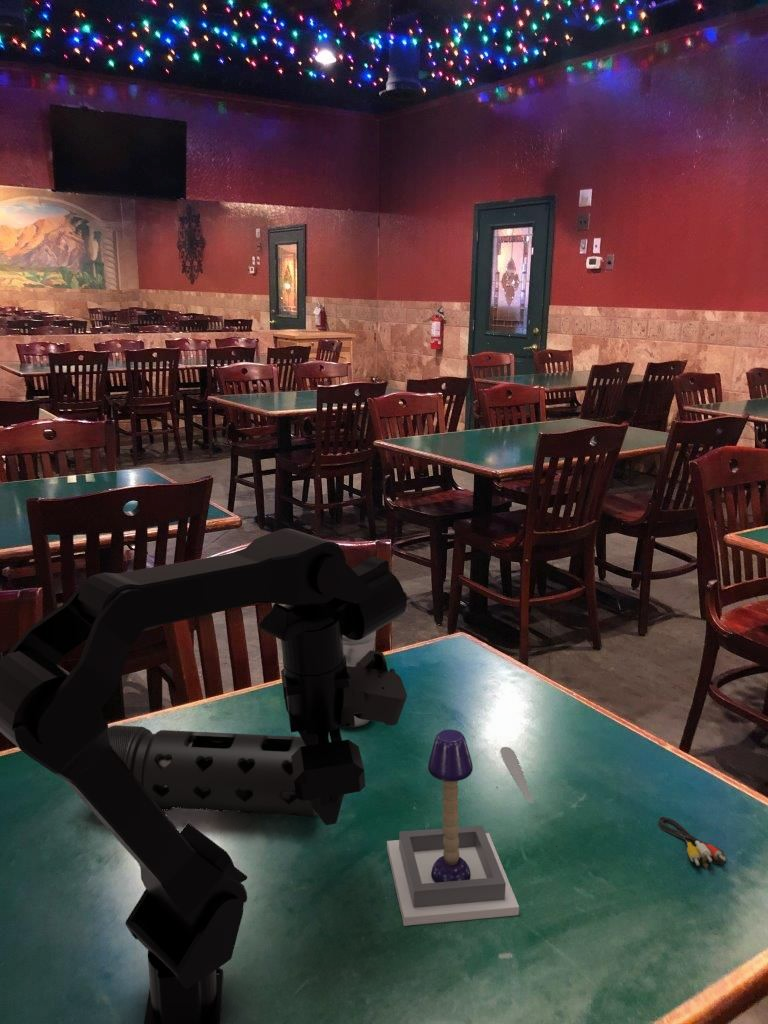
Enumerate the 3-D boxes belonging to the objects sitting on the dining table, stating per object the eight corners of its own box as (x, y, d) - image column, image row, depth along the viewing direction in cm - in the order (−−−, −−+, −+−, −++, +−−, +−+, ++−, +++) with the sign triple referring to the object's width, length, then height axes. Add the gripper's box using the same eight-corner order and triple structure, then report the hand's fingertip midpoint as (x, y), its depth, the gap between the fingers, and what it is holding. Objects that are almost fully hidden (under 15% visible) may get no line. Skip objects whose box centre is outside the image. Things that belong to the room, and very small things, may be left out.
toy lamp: (422, 884, 88) (424, 743, 84) (430, 856, 92) (433, 721, 88) (467, 892, 87) (472, 750, 83) (473, 863, 91) (478, 727, 87)
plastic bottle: (323, 716, 124) (322, 591, 119) (364, 707, 127) (365, 584, 121) (339, 736, 118) (339, 606, 113) (382, 727, 121) (384, 599, 116)
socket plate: (518, 915, 85) (520, 890, 84) (403, 925, 84) (404, 900, 83) (488, 840, 97) (489, 818, 96) (386, 848, 95) (387, 825, 94)
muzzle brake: (313, 841, 96) (312, 763, 94) (79, 828, 98) (71, 751, 95) (324, 793, 105) (324, 720, 103) (110, 782, 107) (104, 710, 104)
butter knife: (518, 745, 116) (498, 745, 116) (581, 880, 91) (555, 880, 90) (518, 749, 117) (497, 749, 116) (581, 884, 91) (555, 884, 90)
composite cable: (652, 823, 101) (654, 805, 100) (688, 819, 102) (690, 802, 101) (696, 878, 91) (698, 859, 91) (735, 874, 92) (738, 855, 92)
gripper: (418, 704, 70) (423, 845, 76) (380, 602, 87) (386, 724, 93) (288, 723, 69) (303, 866, 75) (275, 615, 86) (288, 738, 92)
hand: (325, 791), depth 84 cm, fingers open, 9 cm apart
